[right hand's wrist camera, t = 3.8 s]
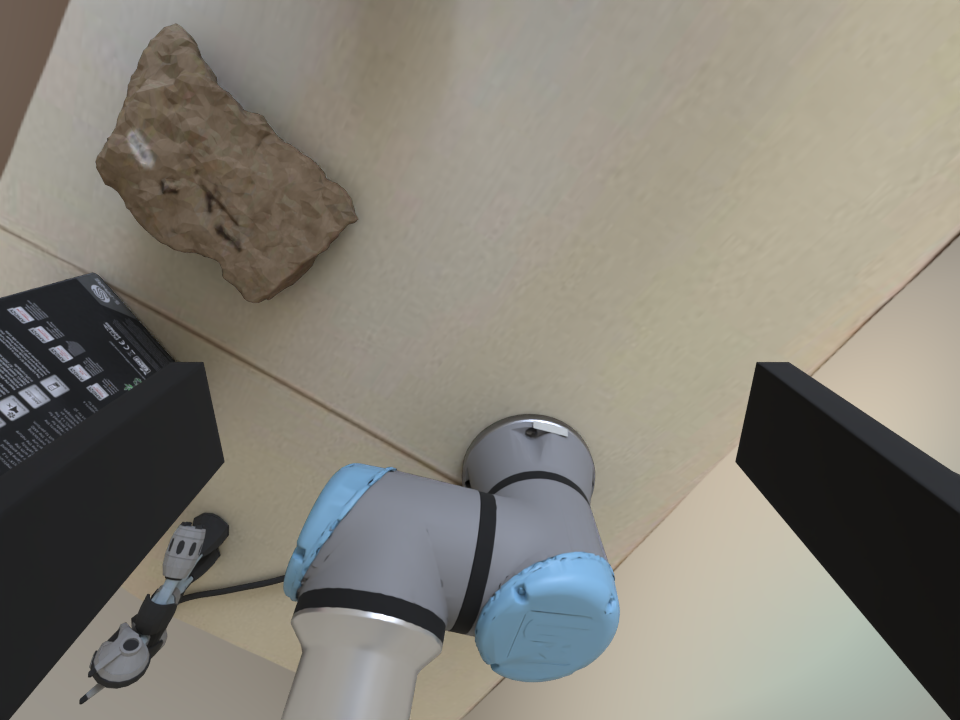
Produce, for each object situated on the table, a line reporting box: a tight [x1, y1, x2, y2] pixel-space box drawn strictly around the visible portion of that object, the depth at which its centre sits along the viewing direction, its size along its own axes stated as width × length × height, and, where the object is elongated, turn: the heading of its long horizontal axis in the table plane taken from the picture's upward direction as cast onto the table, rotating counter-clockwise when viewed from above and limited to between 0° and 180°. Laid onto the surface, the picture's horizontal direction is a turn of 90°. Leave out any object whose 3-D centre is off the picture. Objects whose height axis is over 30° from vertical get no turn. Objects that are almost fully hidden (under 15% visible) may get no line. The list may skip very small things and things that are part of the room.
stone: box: [96, 24, 358, 303], centre depth 46 cm, size 21×15×6 cm
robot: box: [80, 513, 229, 704], centre depth 55 cm, size 20×5×20 cm, turn 153°
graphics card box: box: [0, 273, 175, 476], centre depth 42 cm, size 17×7×27 cm, turn 33°
